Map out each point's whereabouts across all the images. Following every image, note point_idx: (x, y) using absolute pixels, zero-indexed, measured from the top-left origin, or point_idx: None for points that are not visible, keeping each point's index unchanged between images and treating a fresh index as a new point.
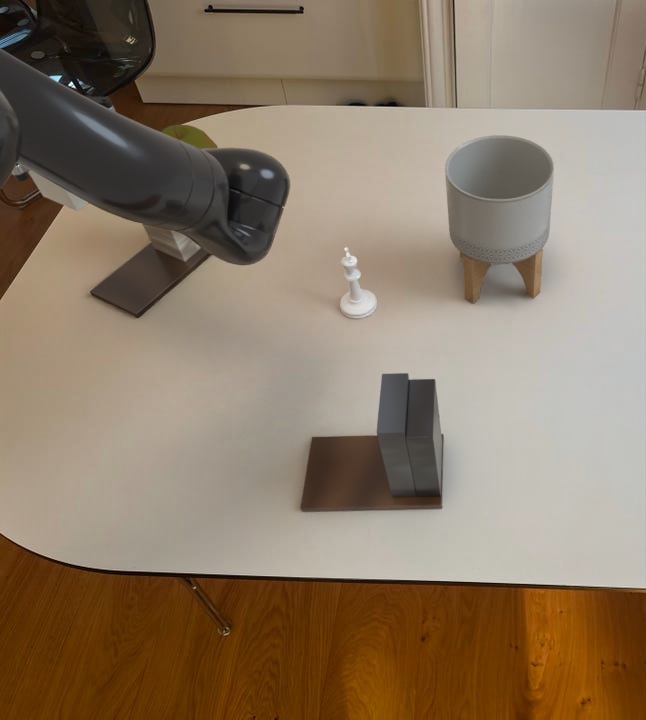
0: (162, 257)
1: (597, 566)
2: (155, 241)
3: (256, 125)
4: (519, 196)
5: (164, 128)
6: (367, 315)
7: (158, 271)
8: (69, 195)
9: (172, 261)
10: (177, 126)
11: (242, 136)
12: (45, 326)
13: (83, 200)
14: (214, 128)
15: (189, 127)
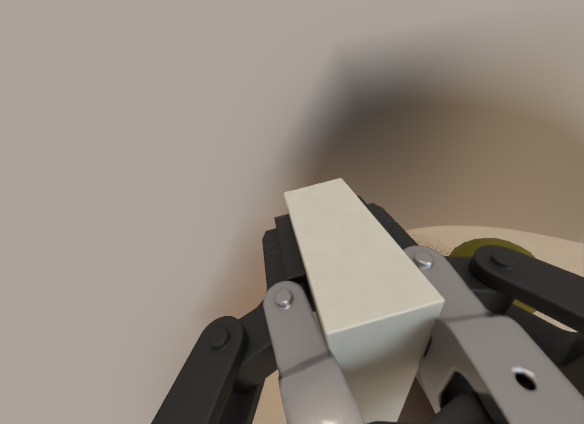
0: (417, 394)
1: None
2: (419, 373)
3: (562, 250)
4: None
5: (485, 238)
6: None
7: (405, 420)
8: None
9: (429, 416)
10: (506, 244)
11: (542, 256)
12: (269, 387)
13: None
14: (503, 233)
15: (524, 252)
